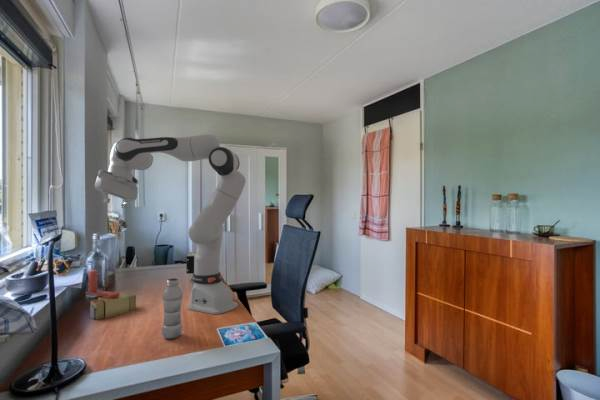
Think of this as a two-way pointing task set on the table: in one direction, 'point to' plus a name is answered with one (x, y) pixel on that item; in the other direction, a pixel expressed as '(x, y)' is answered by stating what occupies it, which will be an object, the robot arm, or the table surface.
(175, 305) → the plastic bottle
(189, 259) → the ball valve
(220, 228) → the robot arm
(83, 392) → the table surface
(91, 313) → the olive yellow box
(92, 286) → the lever
